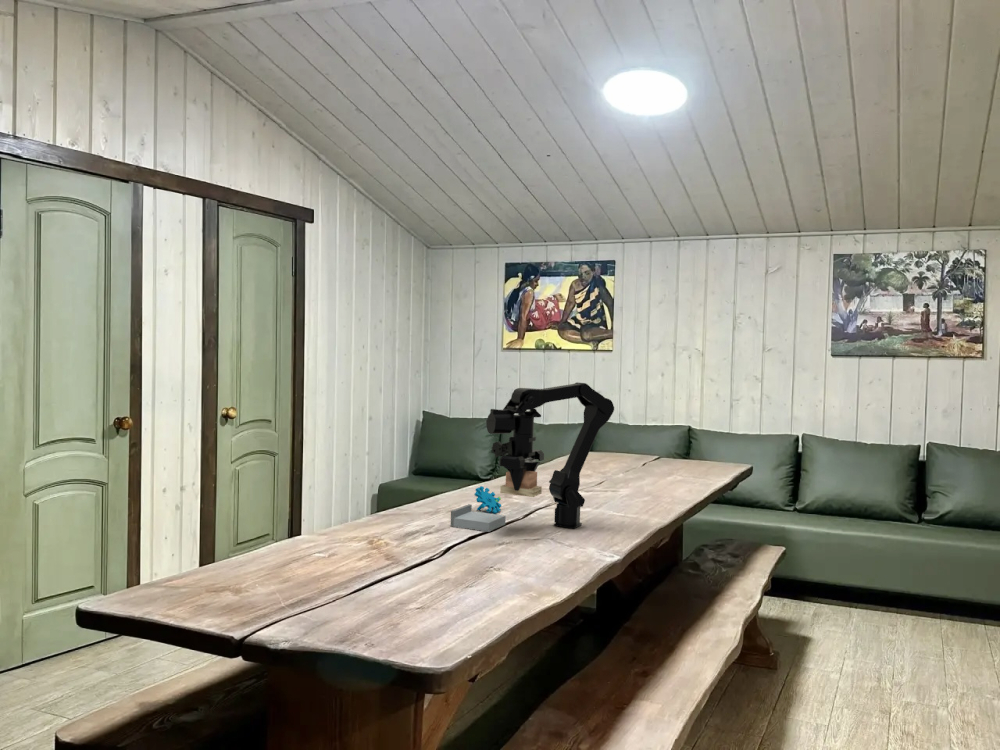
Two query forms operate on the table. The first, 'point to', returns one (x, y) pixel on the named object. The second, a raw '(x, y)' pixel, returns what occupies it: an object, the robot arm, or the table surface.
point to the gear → (487, 500)
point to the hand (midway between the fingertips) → (521, 488)
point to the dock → (475, 519)
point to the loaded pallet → (522, 492)
